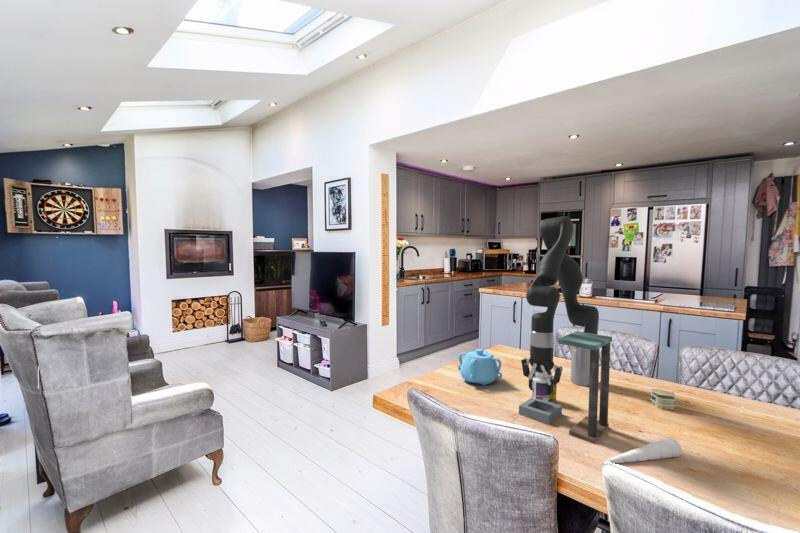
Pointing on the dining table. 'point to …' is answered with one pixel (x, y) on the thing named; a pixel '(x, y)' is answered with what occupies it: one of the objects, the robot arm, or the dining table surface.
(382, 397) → the dining table surface
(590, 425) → the green-topped post stand
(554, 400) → the supplement bottle
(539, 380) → the pill bottle
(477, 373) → the decorative pot
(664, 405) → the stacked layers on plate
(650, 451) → the unicorn horn
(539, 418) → the socket
